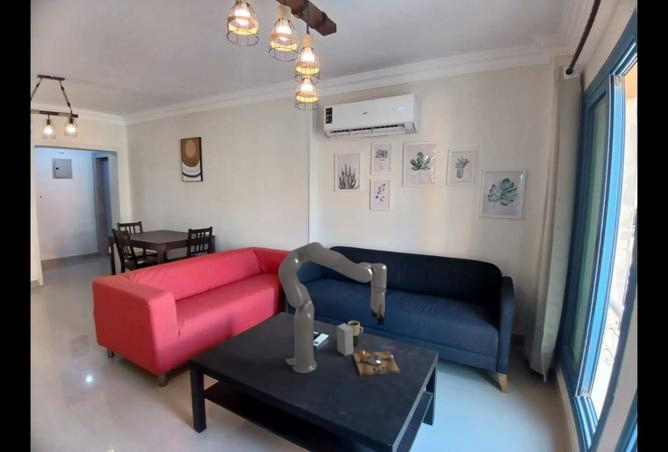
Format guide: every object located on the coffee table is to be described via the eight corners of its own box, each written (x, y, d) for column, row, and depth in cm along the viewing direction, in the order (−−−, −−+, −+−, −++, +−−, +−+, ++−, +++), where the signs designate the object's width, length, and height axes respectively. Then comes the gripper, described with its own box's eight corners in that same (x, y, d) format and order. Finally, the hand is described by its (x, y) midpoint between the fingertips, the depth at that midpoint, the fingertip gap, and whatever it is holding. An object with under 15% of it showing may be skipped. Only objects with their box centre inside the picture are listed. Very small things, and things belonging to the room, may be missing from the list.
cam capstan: (390, 355, 169) (391, 344, 169) (395, 363, 162) (395, 352, 161) (358, 357, 167) (358, 346, 166) (361, 366, 159) (361, 354, 159)
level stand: (360, 375, 155) (360, 372, 154) (353, 356, 172) (353, 352, 172) (399, 372, 157) (399, 369, 157) (388, 353, 175) (388, 350, 174)
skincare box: (353, 353, 175) (353, 328, 173) (344, 356, 172) (345, 330, 170) (344, 347, 182) (345, 322, 180) (336, 350, 178) (336, 325, 177)
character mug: (363, 342, 187) (364, 321, 185) (361, 348, 180) (362, 326, 179) (345, 340, 190) (346, 319, 188) (343, 345, 183) (343, 324, 181)
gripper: (367, 283, 165) (366, 314, 168) (375, 294, 148) (375, 328, 151) (380, 282, 166) (379, 313, 169) (391, 293, 149) (390, 328, 152)
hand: (377, 320), depth 160 cm, fingers open, 9 cm apart
